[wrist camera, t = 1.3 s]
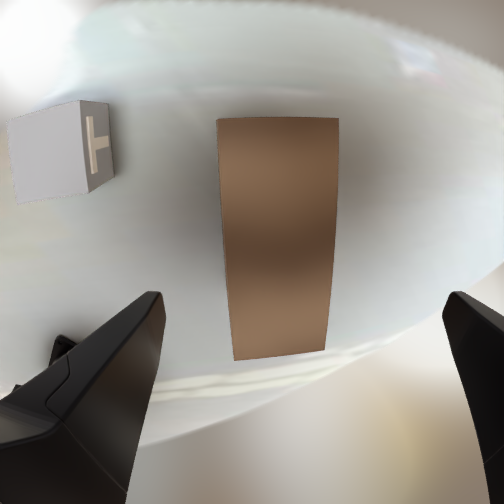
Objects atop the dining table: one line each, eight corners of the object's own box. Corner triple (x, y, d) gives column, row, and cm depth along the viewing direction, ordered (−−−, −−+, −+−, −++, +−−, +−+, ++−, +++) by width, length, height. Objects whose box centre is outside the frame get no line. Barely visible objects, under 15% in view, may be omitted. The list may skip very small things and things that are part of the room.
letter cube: (52, 186, 19) (17, 205, 15) (45, 117, 17) (6, 120, 13) (116, 176, 20) (91, 193, 15) (110, 103, 18) (82, 99, 13)
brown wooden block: (293, 282, 24) (324, 349, 17) (226, 288, 24) (234, 360, 17) (293, 118, 20) (338, 118, 12) (216, 120, 19) (217, 119, 12)
